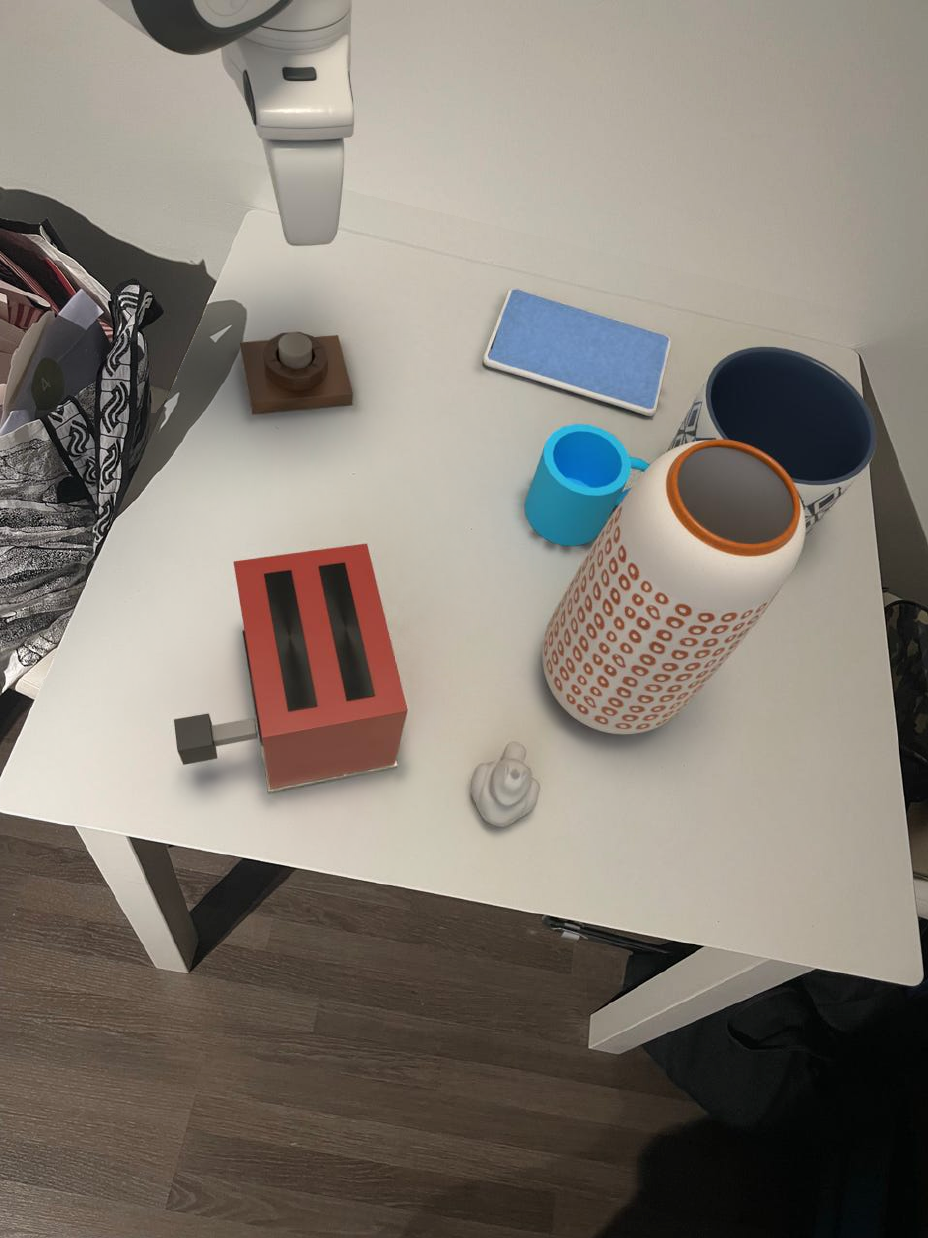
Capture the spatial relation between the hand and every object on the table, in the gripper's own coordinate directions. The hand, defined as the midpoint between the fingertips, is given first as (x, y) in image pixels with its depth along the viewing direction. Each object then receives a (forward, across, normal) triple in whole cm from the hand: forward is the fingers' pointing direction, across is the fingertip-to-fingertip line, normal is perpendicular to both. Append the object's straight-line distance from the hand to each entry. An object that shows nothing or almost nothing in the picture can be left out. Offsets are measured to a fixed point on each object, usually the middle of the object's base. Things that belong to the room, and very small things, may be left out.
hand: (291, 215), depth 71 cm
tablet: (+19, 0, +31) cm, 37 cm away
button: (+16, 0, 0) cm, 16 cm away
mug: (+19, +20, +25) cm, 37 cm away
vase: (+19, +38, +21) cm, 48 cm away
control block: (+19, 0, 0) cm, 19 cm away
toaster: (+19, +35, -4) cm, 40 cm away
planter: (+19, +22, +40) cm, 50 cm away
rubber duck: (+19, +46, +9) cm, 51 cm away
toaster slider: (+13, +39, -12) cm, 43 cm away
